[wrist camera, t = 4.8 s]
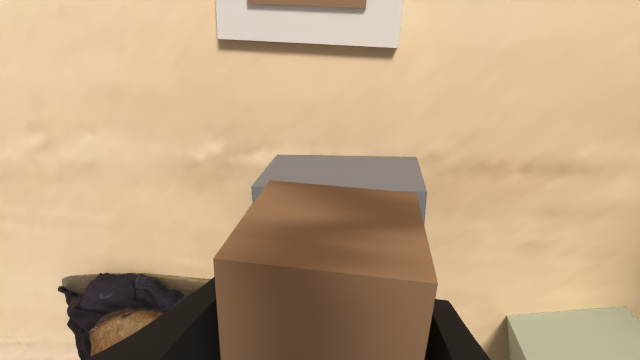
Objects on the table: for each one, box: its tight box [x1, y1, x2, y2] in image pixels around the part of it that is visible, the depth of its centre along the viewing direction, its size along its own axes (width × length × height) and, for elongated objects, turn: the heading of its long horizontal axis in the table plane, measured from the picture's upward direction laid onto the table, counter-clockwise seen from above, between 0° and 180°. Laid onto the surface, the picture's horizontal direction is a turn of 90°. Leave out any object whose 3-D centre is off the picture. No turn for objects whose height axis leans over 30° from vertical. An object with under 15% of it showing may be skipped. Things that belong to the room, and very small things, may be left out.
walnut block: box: [213, 180, 438, 360], centre depth 12 cm, size 5×5×5 cm
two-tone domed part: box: [58, 273, 211, 360], centre depth 21 cm, size 11×8×4 cm
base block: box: [251, 155, 427, 223], centre depth 16 cm, size 6×6×4 cm
